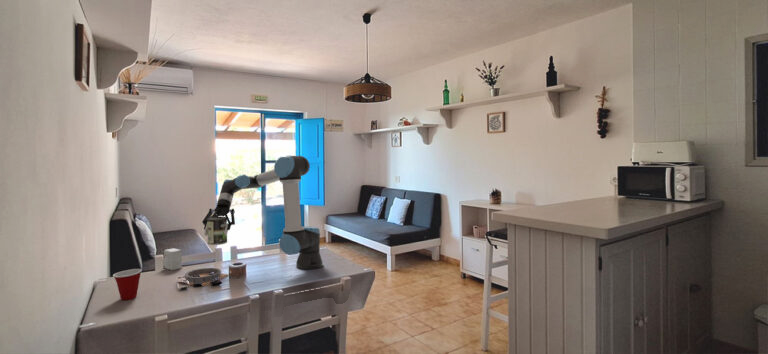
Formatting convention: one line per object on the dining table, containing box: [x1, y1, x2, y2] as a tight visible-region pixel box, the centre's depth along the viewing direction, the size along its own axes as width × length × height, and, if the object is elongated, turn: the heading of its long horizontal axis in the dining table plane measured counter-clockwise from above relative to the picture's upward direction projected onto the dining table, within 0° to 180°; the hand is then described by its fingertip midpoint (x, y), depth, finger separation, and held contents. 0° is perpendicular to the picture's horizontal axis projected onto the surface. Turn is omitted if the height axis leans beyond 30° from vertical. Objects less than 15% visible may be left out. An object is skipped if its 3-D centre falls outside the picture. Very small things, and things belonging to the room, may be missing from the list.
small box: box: [163, 248, 183, 271], centre depth 216 cm, size 8×6×10 cm
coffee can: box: [207, 216, 228, 246], centre depth 213 cm, size 10×10×14 cm
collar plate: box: [176, 267, 229, 287], centre depth 198 cm, size 17×17×4 cm
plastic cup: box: [112, 268, 143, 301], centre depth 171 cm, size 11×11×12 cm
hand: (215, 234), depth 210 cm, fingers closed on coffee can, 10 cm apart
